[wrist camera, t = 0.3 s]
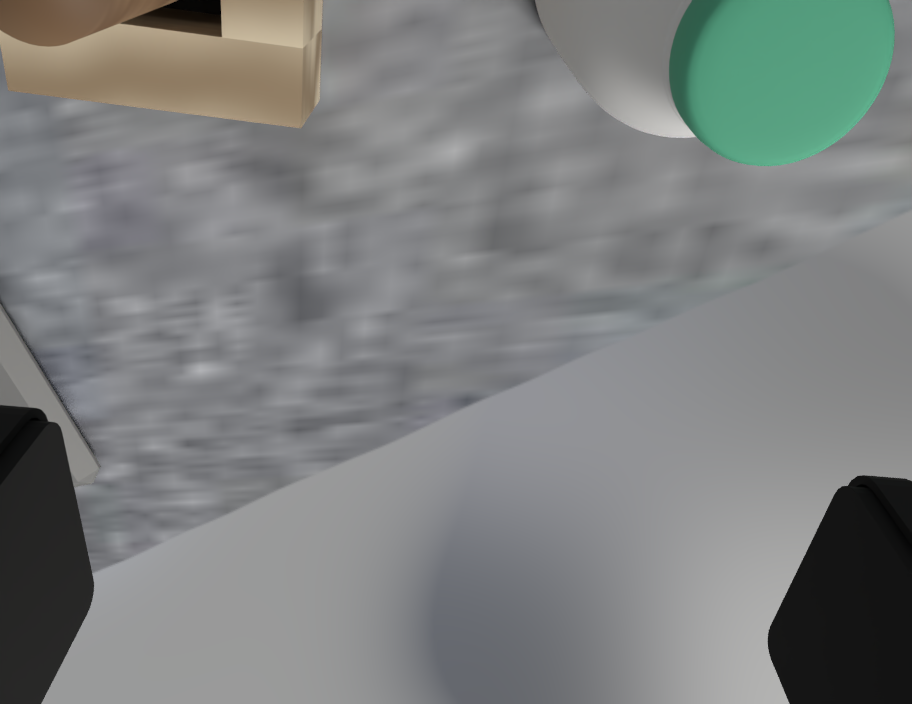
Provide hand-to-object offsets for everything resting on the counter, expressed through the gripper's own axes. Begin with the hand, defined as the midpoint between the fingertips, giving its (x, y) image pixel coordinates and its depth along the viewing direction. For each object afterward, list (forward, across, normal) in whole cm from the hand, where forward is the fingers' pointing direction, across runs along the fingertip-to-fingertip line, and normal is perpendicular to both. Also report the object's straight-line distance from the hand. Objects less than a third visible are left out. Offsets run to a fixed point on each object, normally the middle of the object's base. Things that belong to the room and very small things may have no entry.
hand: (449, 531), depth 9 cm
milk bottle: (+30, -7, -4) cm, 31 cm away
